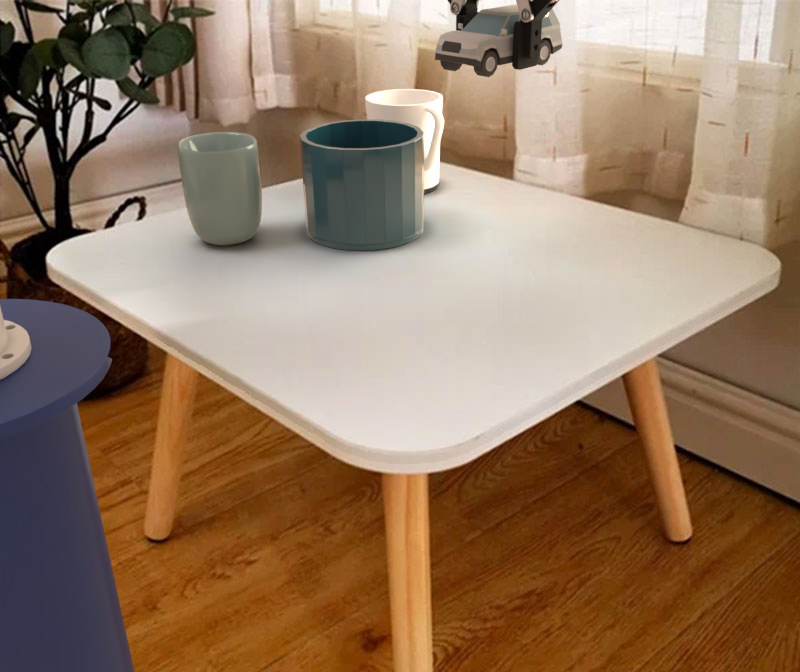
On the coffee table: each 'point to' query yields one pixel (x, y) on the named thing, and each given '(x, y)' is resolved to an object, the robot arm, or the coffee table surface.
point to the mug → (414, 121)
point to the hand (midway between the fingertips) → (496, 61)
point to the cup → (222, 185)
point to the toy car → (492, 41)
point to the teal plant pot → (363, 183)
